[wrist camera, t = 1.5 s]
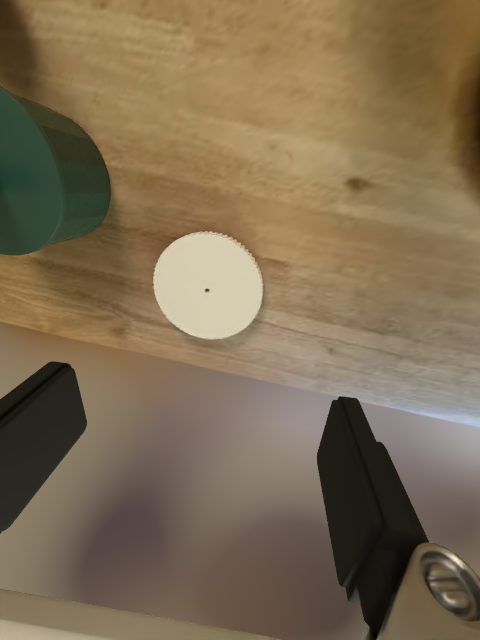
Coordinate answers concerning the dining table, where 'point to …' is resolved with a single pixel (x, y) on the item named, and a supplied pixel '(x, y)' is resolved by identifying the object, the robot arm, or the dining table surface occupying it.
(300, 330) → the dining table surface
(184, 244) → the plastic lid
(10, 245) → the lid
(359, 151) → the dining table surface
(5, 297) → the dining table surface
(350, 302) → the dining table surface
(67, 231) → the pot
